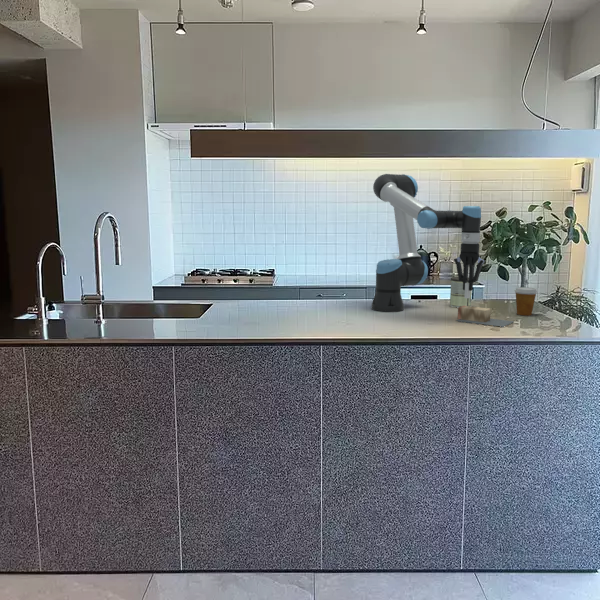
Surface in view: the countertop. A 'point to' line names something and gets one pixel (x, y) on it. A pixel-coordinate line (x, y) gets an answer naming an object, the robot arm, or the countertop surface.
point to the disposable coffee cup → (525, 300)
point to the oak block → (474, 313)
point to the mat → (489, 322)
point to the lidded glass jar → (458, 294)
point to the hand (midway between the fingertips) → (467, 297)
